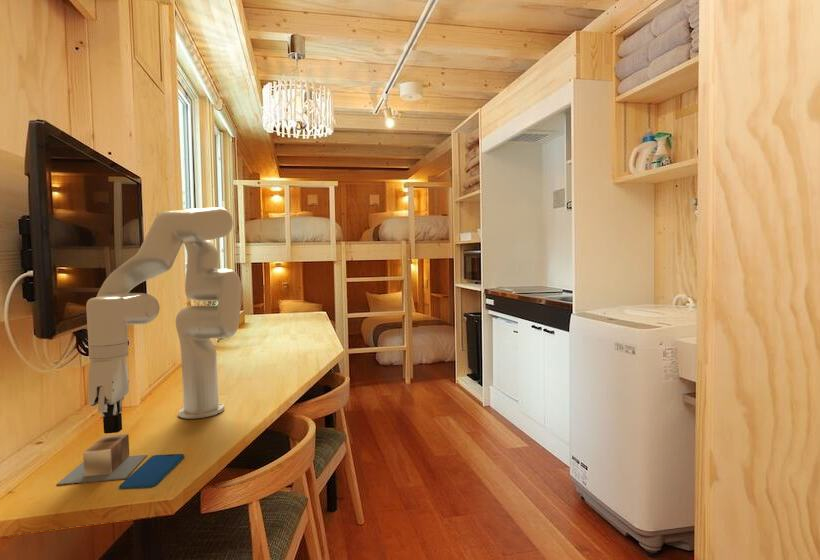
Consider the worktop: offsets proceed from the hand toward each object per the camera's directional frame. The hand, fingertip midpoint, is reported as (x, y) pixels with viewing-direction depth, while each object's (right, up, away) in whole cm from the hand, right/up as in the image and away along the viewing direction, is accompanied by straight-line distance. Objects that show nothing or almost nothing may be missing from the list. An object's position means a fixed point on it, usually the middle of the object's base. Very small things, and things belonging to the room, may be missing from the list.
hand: (113, 431), depth 110 cm
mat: (+1, -7, -5) cm, 8 cm away
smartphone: (+12, -7, -6) cm, 16 cm away
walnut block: (0, -4, +2) cm, 4 cm away
